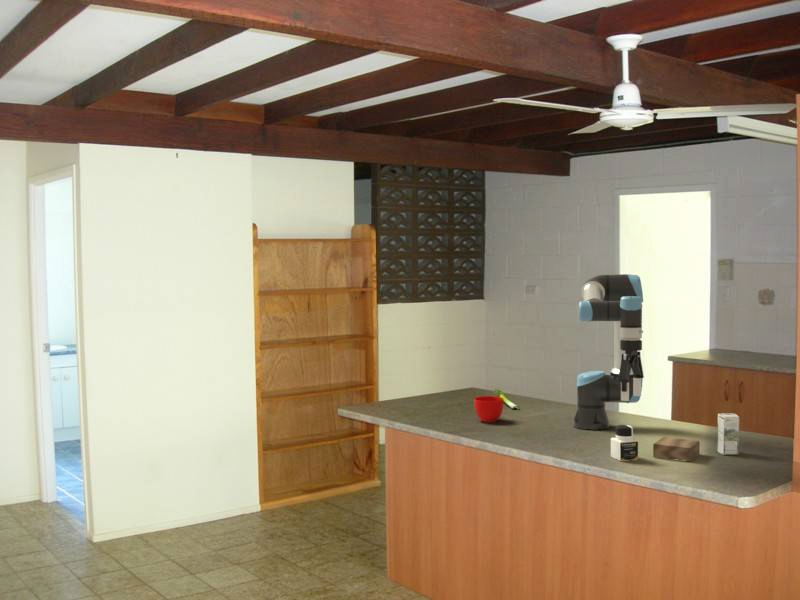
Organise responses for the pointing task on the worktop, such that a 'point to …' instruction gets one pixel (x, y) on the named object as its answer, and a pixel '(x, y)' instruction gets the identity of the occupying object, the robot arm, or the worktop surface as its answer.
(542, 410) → the worktop surface
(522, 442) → the worktop surface
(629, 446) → the medicine bottle
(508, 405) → the leek
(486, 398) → the ceramic cup
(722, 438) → the syrup box
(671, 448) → the walnut base
